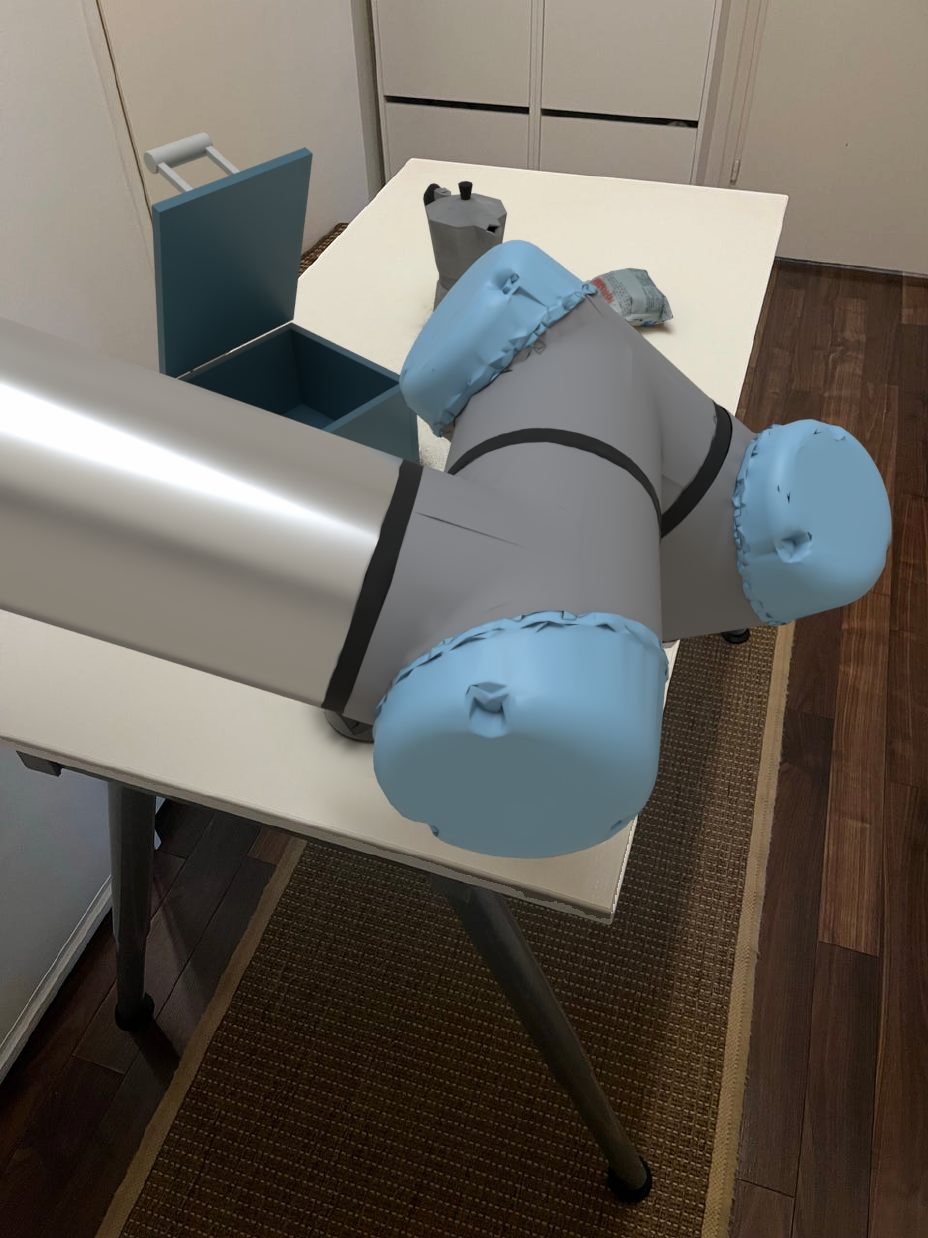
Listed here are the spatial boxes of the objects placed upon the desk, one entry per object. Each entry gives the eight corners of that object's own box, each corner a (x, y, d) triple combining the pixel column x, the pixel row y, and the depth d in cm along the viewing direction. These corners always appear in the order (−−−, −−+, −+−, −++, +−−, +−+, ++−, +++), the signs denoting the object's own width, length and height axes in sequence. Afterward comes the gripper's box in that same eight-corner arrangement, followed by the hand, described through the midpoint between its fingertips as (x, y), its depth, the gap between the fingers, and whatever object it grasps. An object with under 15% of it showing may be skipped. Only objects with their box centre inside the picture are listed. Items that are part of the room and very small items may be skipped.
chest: (420, 467, 95) (415, 381, 88) (303, 545, 87) (287, 458, 80) (304, 404, 104) (291, 321, 97) (188, 469, 96) (164, 384, 89)
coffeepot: (529, 343, 112) (535, 191, 99) (463, 366, 109) (461, 212, 96) (461, 293, 121) (459, 148, 108) (399, 313, 118) (388, 165, 105)
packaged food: (604, 343, 112) (608, 304, 108) (575, 297, 120) (579, 260, 117) (672, 335, 113) (679, 297, 110) (639, 291, 121) (644, 254, 118)
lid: (313, 153, 80) (246, 95, 82) (159, 212, 72) (88, 146, 74) (293, 319, 96) (238, 268, 98) (166, 383, 88) (107, 325, 90)
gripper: (468, 797, 42) (299, 795, 60) (749, 526, 55) (539, 592, 73) (377, 662, 41) (231, 701, 59) (686, 417, 53) (489, 511, 71)
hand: (401, 641), depth 66 cm, fingers open, 13 cm apart
